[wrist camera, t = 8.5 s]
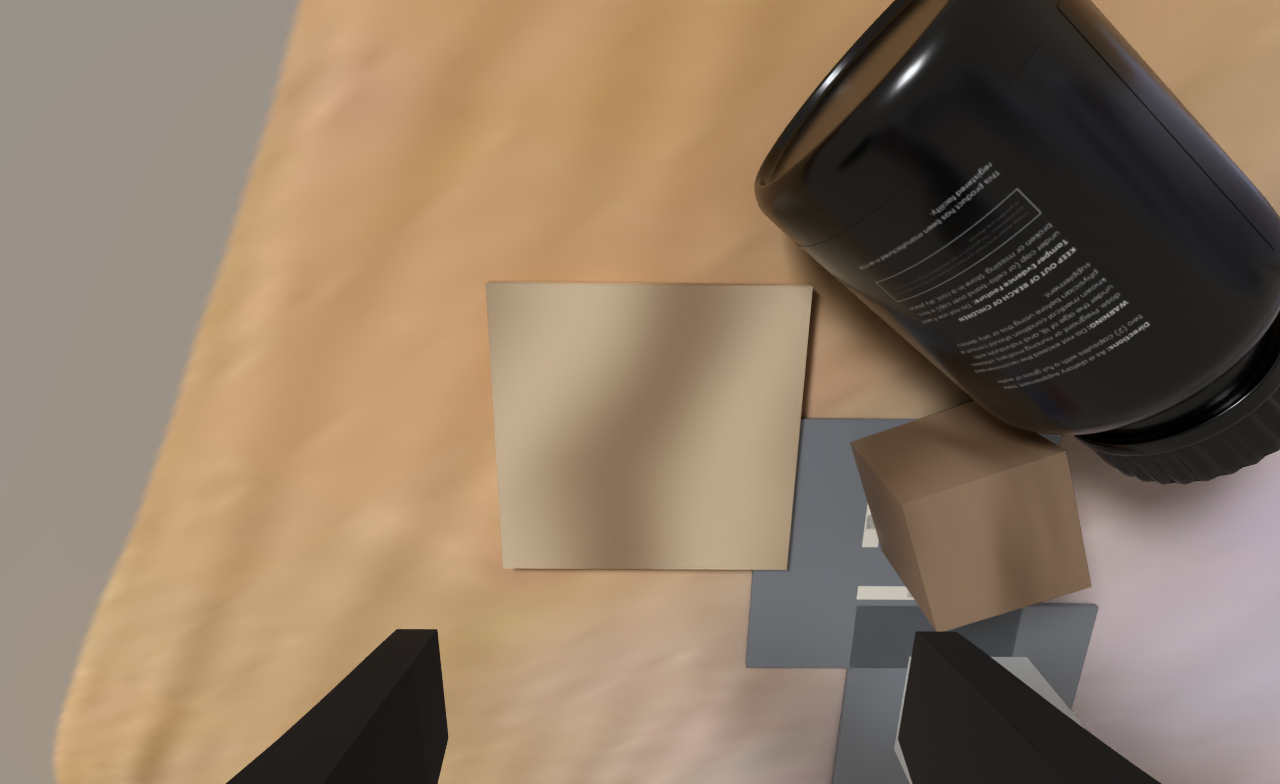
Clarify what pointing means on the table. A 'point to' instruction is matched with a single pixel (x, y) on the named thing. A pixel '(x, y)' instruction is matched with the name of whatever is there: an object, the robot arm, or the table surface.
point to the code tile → (837, 566)
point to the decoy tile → (874, 695)
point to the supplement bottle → (1044, 230)
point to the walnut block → (973, 514)
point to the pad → (647, 422)
